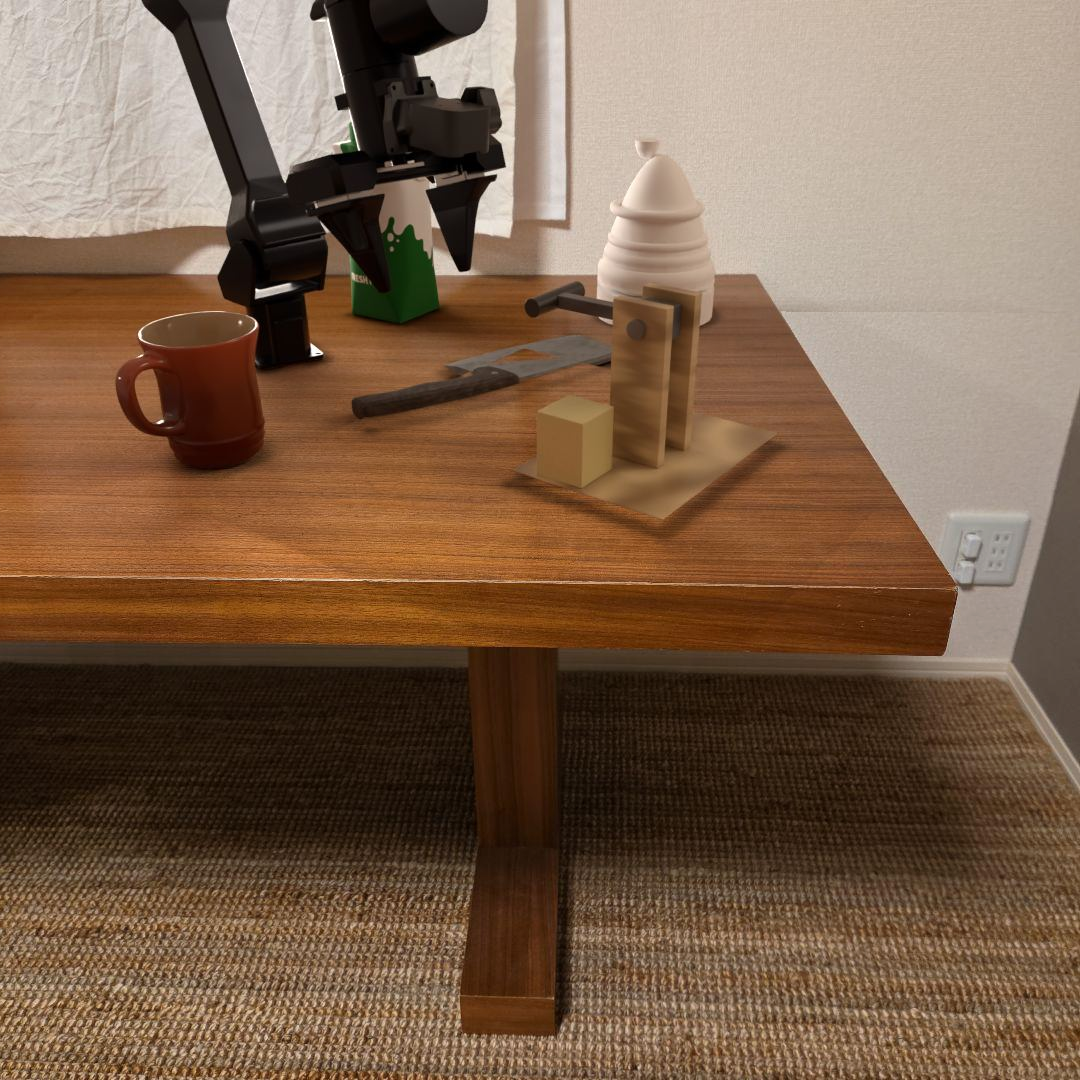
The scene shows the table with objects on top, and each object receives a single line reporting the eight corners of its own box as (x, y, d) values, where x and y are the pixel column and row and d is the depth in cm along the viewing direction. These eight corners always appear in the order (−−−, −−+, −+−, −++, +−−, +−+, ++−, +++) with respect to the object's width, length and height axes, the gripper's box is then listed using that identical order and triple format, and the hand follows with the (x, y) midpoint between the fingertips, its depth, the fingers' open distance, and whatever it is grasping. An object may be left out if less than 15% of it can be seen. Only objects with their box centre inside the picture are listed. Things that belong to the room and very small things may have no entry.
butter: (536, 474, 74) (536, 410, 72) (567, 455, 77) (568, 394, 74) (581, 488, 72) (582, 424, 69) (611, 469, 75) (614, 406, 72)
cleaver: (382, 438, 82) (380, 413, 81) (320, 404, 89) (318, 381, 88) (632, 360, 100) (634, 339, 98) (565, 336, 106) (566, 317, 105)
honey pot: (572, 315, 112) (574, 143, 103) (640, 290, 120) (647, 129, 111) (668, 339, 105) (680, 156, 96) (733, 311, 113) (749, 140, 104)
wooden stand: (511, 484, 75) (507, 309, 69) (638, 410, 88) (646, 256, 81) (661, 534, 69) (673, 346, 62) (776, 446, 81) (796, 282, 75)
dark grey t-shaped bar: (524, 322, 76) (524, 290, 75) (570, 303, 80) (570, 273, 79) (650, 351, 70) (652, 317, 69) (693, 329, 74) (695, 297, 73)
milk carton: (340, 315, 112) (320, 122, 102) (392, 295, 119) (378, 112, 109) (401, 328, 108) (387, 128, 98) (452, 307, 115) (443, 118, 105)
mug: (223, 424, 85) (203, 304, 80) (300, 446, 81) (283, 322, 76) (103, 477, 77) (72, 347, 72) (182, 505, 73) (154, 369, 67)
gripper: (358, 46, 64) (415, 294, 69) (537, 41, 77) (574, 249, 82) (254, 87, 71) (313, 309, 76) (434, 76, 84) (475, 266, 89)
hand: (426, 281), depth 81 cm, fingers open, 9 cm apart
